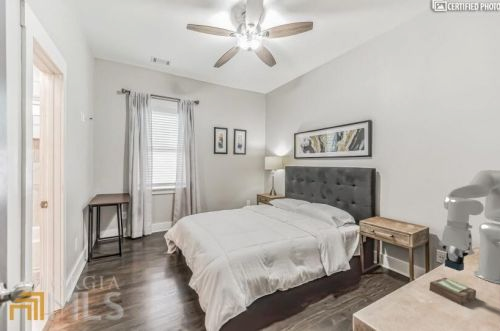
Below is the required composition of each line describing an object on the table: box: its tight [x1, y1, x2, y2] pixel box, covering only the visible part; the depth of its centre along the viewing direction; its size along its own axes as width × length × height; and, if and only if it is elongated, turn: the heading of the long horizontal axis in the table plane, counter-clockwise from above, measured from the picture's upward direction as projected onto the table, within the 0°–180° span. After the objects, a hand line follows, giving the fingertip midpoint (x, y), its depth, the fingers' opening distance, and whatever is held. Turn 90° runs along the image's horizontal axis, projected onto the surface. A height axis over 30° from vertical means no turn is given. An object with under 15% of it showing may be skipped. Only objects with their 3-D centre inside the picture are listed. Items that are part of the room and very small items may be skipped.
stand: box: [429, 277, 477, 306], centre depth 106 cm, size 14×12×4 cm
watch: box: [444, 246, 465, 272], centre depth 106 cm, size 6×8×11 cm
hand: (454, 262), depth 106 cm, fingers closed on watch, 3 cm apart
